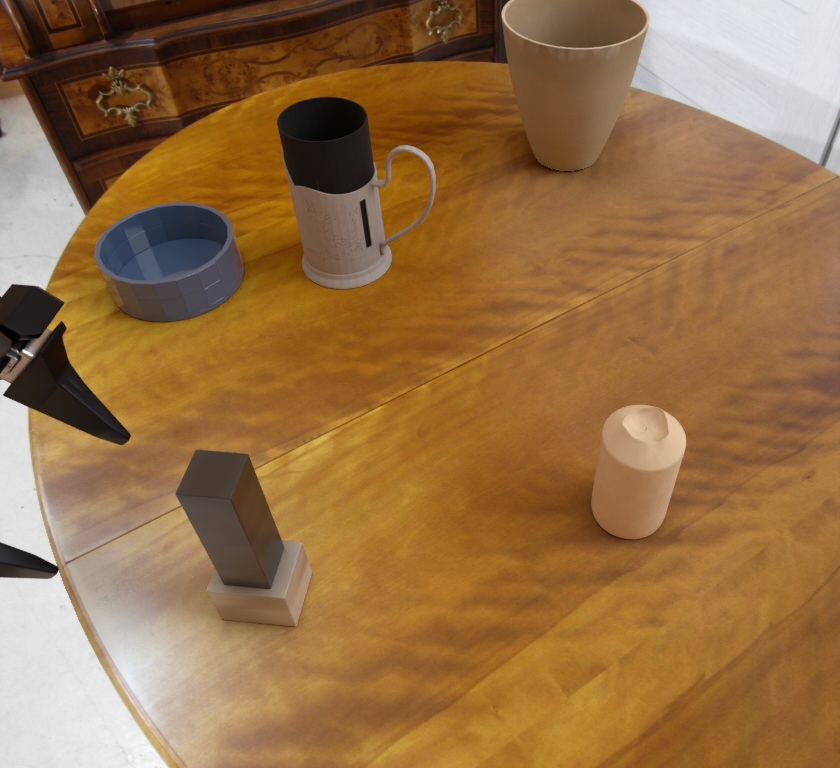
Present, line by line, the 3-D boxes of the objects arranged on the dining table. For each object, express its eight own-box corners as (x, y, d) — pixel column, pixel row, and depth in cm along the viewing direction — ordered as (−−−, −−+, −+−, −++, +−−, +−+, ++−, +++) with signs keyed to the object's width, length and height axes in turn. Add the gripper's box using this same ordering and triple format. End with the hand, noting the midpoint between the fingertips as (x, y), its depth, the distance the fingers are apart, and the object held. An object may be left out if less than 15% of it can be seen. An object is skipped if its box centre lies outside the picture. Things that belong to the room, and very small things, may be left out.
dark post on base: (222, 619, 51) (152, 500, 40) (241, 565, 54) (181, 440, 43) (296, 627, 51) (245, 508, 40) (312, 572, 53) (269, 447, 43)
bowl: (91, 319, 70) (71, 281, 66) (139, 238, 78) (123, 200, 74) (224, 324, 70) (211, 286, 66) (258, 242, 78) (247, 204, 74)
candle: (623, 465, 60) (641, 377, 52) (680, 508, 57) (707, 423, 50) (575, 507, 57) (587, 420, 50) (632, 554, 55) (654, 471, 47)
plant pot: (514, 115, 95) (517, -22, 84) (634, 130, 94) (655, -8, 82) (487, 182, 85) (486, 37, 74) (621, 200, 84) (642, 54, 72)
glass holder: (326, 225, 80) (299, 86, 69) (456, 252, 77) (450, 112, 66) (285, 278, 74) (249, 135, 63) (424, 309, 71) (412, 166, 60)
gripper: (-363, 445, 27) (74, 618, 34) (-51, 155, 39) (219, 329, 47) (-386, 543, 33) (-12, 671, 41) (-110, 265, 45) (137, 403, 53)
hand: (93, 502), depth 45 cm, fingers open, 9 cm apart
